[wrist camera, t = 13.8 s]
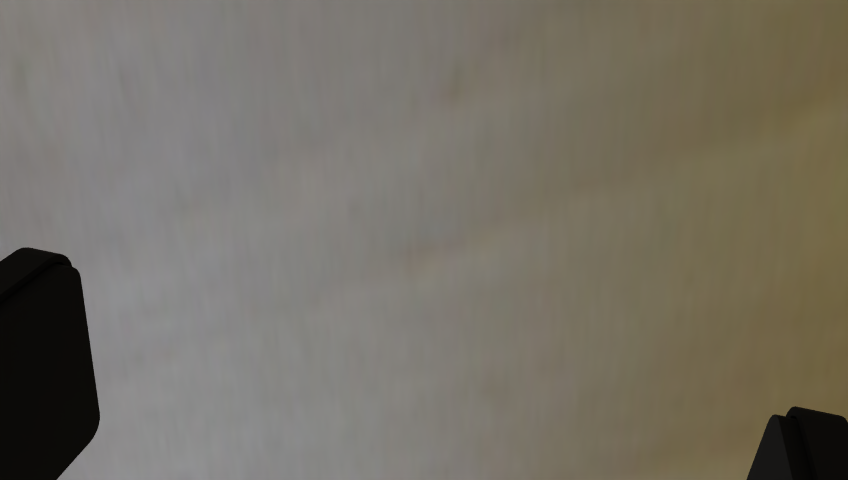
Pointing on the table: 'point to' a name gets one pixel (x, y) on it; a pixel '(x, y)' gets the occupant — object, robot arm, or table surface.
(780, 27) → the table surface
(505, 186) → the table surface
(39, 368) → the robot arm
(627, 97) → the table surface
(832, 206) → the table surface
